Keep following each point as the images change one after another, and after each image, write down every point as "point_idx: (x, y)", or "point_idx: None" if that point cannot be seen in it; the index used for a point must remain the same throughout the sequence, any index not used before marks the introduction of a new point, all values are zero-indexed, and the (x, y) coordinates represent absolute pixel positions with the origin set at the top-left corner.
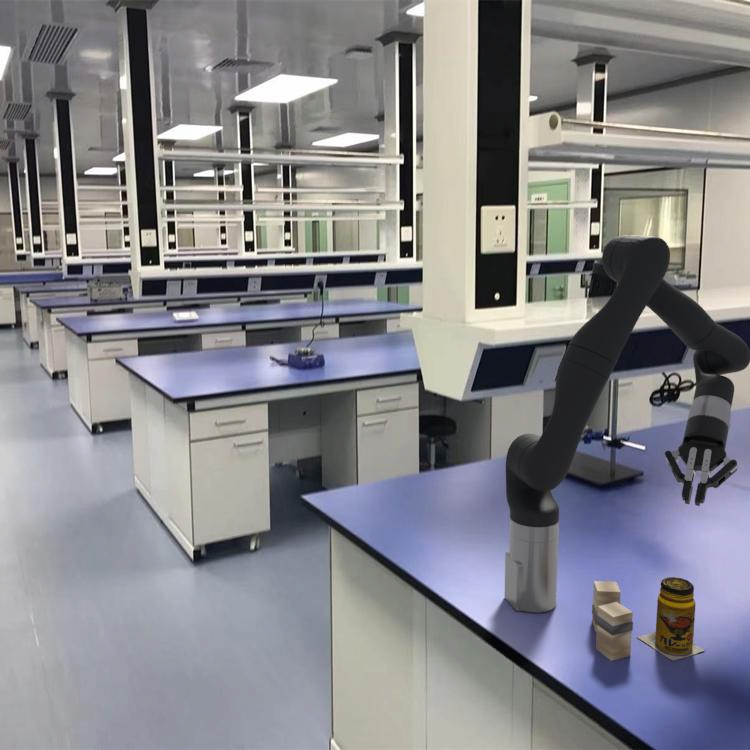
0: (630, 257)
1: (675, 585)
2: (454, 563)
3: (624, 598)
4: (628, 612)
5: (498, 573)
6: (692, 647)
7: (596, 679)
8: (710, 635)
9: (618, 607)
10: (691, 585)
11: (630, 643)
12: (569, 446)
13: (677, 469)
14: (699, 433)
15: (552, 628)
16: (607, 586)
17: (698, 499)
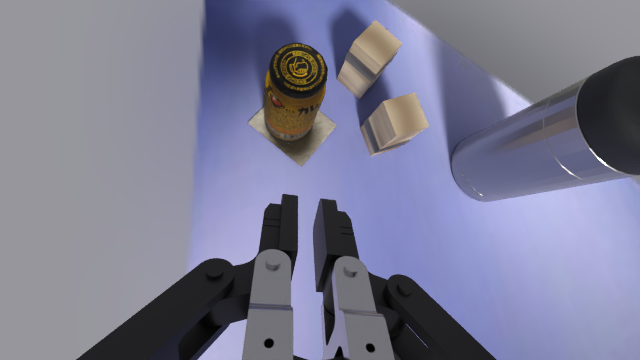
0: None
1: (301, 60)
2: (615, 242)
3: (372, 238)
4: (358, 38)
5: (552, 238)
6: (264, 125)
7: (362, 19)
8: (241, 172)
9: (375, 49)
10: (274, 65)
11: (341, 69)
12: None
13: (420, 311)
14: None
15: (435, 109)
16: (405, 114)
17: (284, 194)
